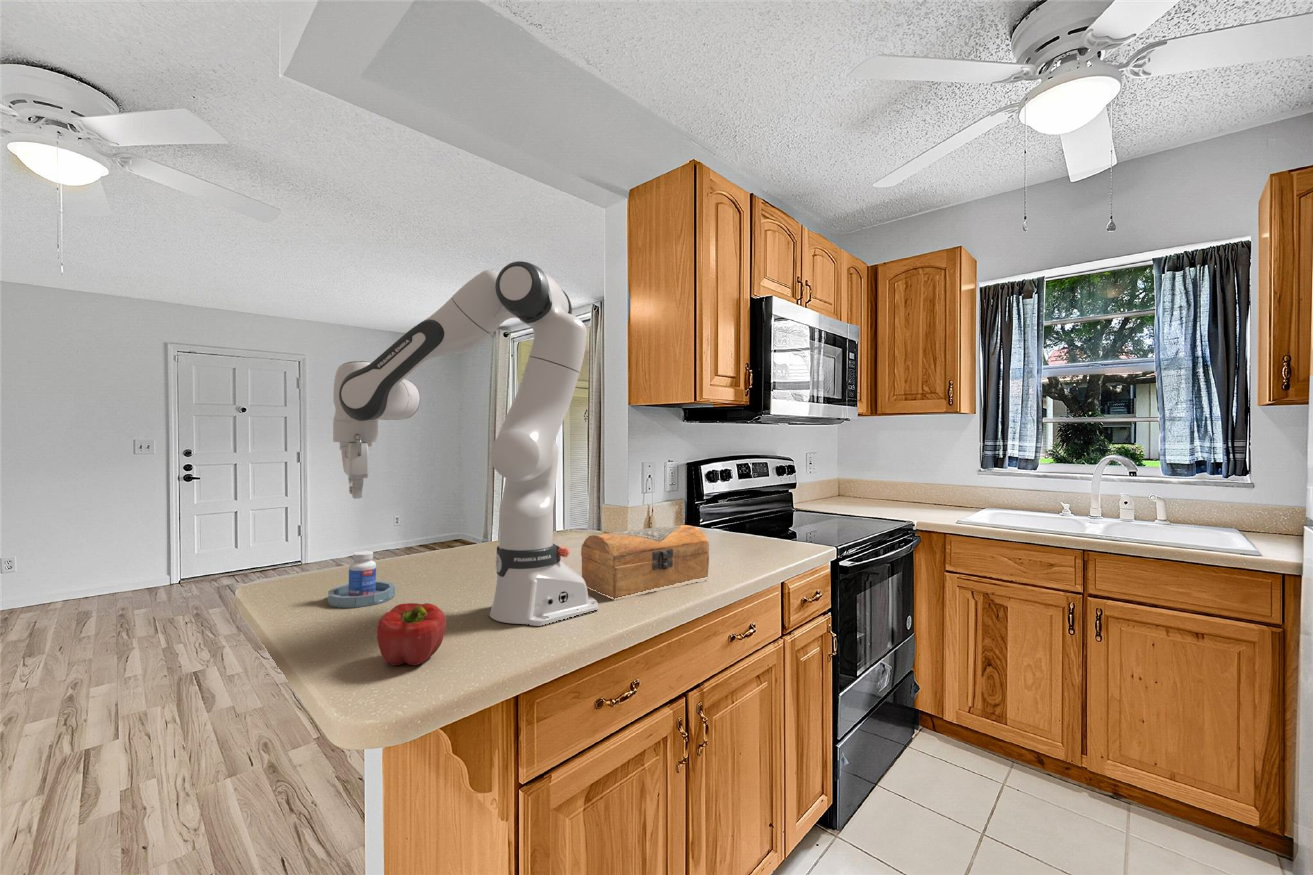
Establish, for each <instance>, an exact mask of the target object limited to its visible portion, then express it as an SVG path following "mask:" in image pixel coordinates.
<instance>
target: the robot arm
mask: <svg viewBox="0 0 1313 875" xmlns="http://www.w3.org/2000/svg"><path fill="white" fill-rule="evenodd" d="M514 318H515V319H518V320H519V321H520V322H522V323H523V324H524V325H525V324H526V325H527V326H529V327H530V328H532V330H533V340H532V345H531V348H530V351H529V354H528V357H527V361H526V364H525V367H524V371H523V373H522V377H521V380H520V383H519V386H518V389H517V392H516V395H515V397H514V399H513V401H512V403H511V405H510V408H509V409H508V412H507V414H506V416H505V418H504V420H503V423H502V425H501V428H500V430H499V432H498V434H497V437H496V438H495V439H494V441H493V443H492V445H491V449H490V454H489V455H490V461H491V464H492V467H493V468H494V470H495V471H496V472H497V473H498V474H499V475H501V476H502V477H503V478H505V481H504V487H503V492H502V498H501V502H500V506H499V510H498V512H499V514H498V517H499V518H498V545H497V546H496V554H495V572H496V574H497V576H496V583H495V584H496V585H495V592H494V596H493V597H494V598H493V601H492V606H491V609H490V612H489V616H490V618H491V619H492V620H495V621H496V622H501V623H505V624H515V625H516V624H519V625H520V624H521V625H528V624H529V625H530V626H533V627H534V626H535V627H543V626H545V624H546V625H549V623H550V624H552V622H554V623H556V621H557V622H559V621H558V620H561V621H564V620H563V619H565V620H568V619H570V618H569V617H572V618H575V617H574V616H576V615H579V614H582V613H586V612H588V611H594V610H597V609H598V610H599V603H598V601H597V600H596V599H595V598H594V597H592V596H591V595H589V594H588V593H589V592H588V589H587V586H586V583H585V580H584V579H583V577H582V574H581V575H580V574H579V573H578V572H576V571H575V570H574V569H573V568H571V567H570V566H569V565H568V564H566V563H564V562H563V561H562V560H561V558H568V557H569V555H570V549H569V548H567V547H566V546H559V545H557V544H555V543H554V537H553V536H554V505H555V494H556V488H557V487H556V486H557V479H558V478H557V477H558V463H559V462H558V461H559V447H558V443H557V441H556V439H557V436H558V434H559V431H560V429H561V426H562V424H563V421H564V419H565V418H566V415H567V413H568V411H569V410H570V405H571V403H572V400H573V396H574V393H575V390H576V387H577V383H578V379H579V377H580V373H581V369H582V366H583V363H584V357H585V353H586V346H587V337H588V330H587V327H586V325H585V323H584V322H583V321H582V320H581V319H579V318H578V317H577V316H575V315H574V314H573V306H572V303H571V300H570V297H569V296H568V295H567V293H566V292H565V291H564V290H563V289H561V286H560V285H559V284H558V283H557V282H556V280H555V279H554V278H552V277H551V276H550V275H549V274H548V273H546V272H544V271H543V270H542V269H541V268H540V267H539V266H537V265H535V264H532V263H530V262H528V261H527V262H526V261H521V260H520V261H519V260H518V261H512V262H511V263H509V264H506V265H505V266H504V267H503V268H502V269H501V270H500V271H497V270H494V269H485V270H483V271H481V272H480V273H478V274H477V275H475V276H474V277H473V278H471V279H470V280H469V281H467V282H466V283H465V284H464V285H462V286H461V287H460V288H459V289H458V290H457V291H456V292H455V293H454V294H453V295H452V296H451V297H450V298H449V299H448V300H447V301H446V302H445V303H444V304H443V305H442V306H441V307H440V308H439V309H438V310H436V311H435V312H433V314H431V315H430V316H429V317H427V318H426V319H424V320H423V321H421V322H419V323H418V324H416V325H414V326H413V327H412V328H410V330H408V331H407V332H406V333H404V334H403V335H402V336H401V337H400V338H399V339H397V340H396V341H395V342H393V344H391V345H390V346H389V347H388V348H387V349H385V351H383V352H382V353H381V354H380V355H379V356H378V357H377V358H376V359H374V360H373V361H372V362H371V361H366V360H365V361H363V360H360V361H357V360H355V361H349V362H348V361H347V362H345V363H342V364H340V365H338V367H337V369H336V371H335V376H334V381H333V382H334V383H333V400H332V401H333V405H334V408H335V410H334V411H335V412H334V416H333V421H332V422H333V423H332V427H333V428H332V431H333V432H332V436H333V437H332V442H334V443H339V450H340V451H341V459H342V460H341V461H342V467H343V472H344V473H345V474H346V475H347V478H348V488H349V489H348V492H349V494H350V495H351V496H352V498H353V499H355V500H356V499H361V498H362V497H363V488H364V479H368V478H369V474H370V461H369V460H370V452H369V451H370V450H372V448H373V447H372V446H373V445H372V444H373V443H378V442H379V420H380V421H401V420H405V419H408V418H409V419H410V418H411V417H413V416H414V415H415V414H416V413H417V411H418V409H419V407H420V404H421V394H420V390H419V389H418V387H417V386H416V385H415V384H414V383H413V382H412V381H410V380H408V379H405V378H406V377H407V376H409V375H410V374H411V373H412V372H413V371H415V370H416V369H417V368H418V367H419V366H420V365H422V364H423V363H424V362H426V361H428V360H430V359H431V360H432V359H434V358H436V357H442V356H447V355H448V356H449V355H457V354H466V353H470V352H471V351H473V350H475V349H477V348H478V347H479V346H481V345H482V344H483V343H484V342H485V341H487V340H488V338H490V336H491V335H493V333H495V331H496V330H497V329H498V328H499V327H500V326H501V325H502V324H503V323H504V322H506V321H507V320H509V319H514ZM598 610H597V611H598ZM594 612H595V611H594ZM579 616H580V615H579ZM576 617H577V616H576ZM567 618H568V619H567ZM529 625H528V626H529ZM542 625H543V626H542Z"/></svg>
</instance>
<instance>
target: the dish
mask: <svg viewBox="0 0 1313 875" xmlns="http://www.w3.org/2000/svg"><path fill="white" fill-rule="evenodd" d="M348 588H349V583H346V584H343V585H338V586H336V587H334V588H332V589H330V590H328V591H327V594H328V595H327V601H328V602H327V603H328V606H331V607H333V608H339V609H355V608H364V607H371V606H375V605H379V604H382V603H386V602H388V601H391V600H392V599H393V598H394V597H395V594H396V585H395V584H394V583H393V582H389V581H384V580H379V581H378V580H376V592H375V594H370V595H362V596H348Z"/></svg>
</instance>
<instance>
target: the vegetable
mask: <svg viewBox="0 0 1313 875" xmlns="http://www.w3.org/2000/svg"><path fill="white" fill-rule="evenodd" d="M446 628H447V619H446V614H445V612H443V611H442V610H441V608H440V607H438V605H435V604H433V603H428V602H427V603H416V602H415V603H413V602H412V603H411V602H409V603H407V602H406V603H400V604H397V605H395V606H394V607H392V608H391V610H389V611H388V612H385V613H384V614H383V615H381V618H380V619H378V622H377V628H376V634H377V635H376V636H377V637H376V638H377V643H378V648H379V652H380V655H381V657H382V659H384V661H385V662H387V663H388V664H389V665H392V666H399V665H404V664H405V663H406V664H408V665H409V666H417V665H420V664H423V663H425V662H426V661H427V660H429V658H430V657H432V656H433V655H435V653H436V652H437V651H438V650H439V648H440V647H441V645H442V642H443V640H444V636H445V633H446Z"/></svg>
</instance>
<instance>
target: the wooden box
mask: <svg viewBox="0 0 1313 875" xmlns="http://www.w3.org/2000/svg"><path fill="white" fill-rule="evenodd" d="M709 547H710V544H709V540H708V538H707V536H706V535H705V533H704V532H703V530H701V529H700V528H699V527H696V526H693V525H689V524H688V525H687V524H681V525H673V526H660V527H650V528H641V529H639V528H638V529H631V530H630V529H629V530H625V531H624V530H623V531H616V532H609V533H603V534H595V535H589V536H588V537H586V538H585V540H584V541H583V544H582V545H581V547H580V556H581V576H582V577H583V579H584V580H585V583H586V586H587V587H589V588H591V589H593V590H596V591H597V592H600V593H602V594H605V595H608V596H610V597H613V598H614V599H615V598H618V597H622V596H626V595H631V594H635V593H638V592H643V591H646V590H651V589H654V588H660V587H664V586H669V585H674V584H676V583H682V582H685V581H690V580H693V579H700V578H705V577H708V578H709V576H708V575H709V568H710V567H709V566H710V552H709V551H710V548H709Z"/></svg>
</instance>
